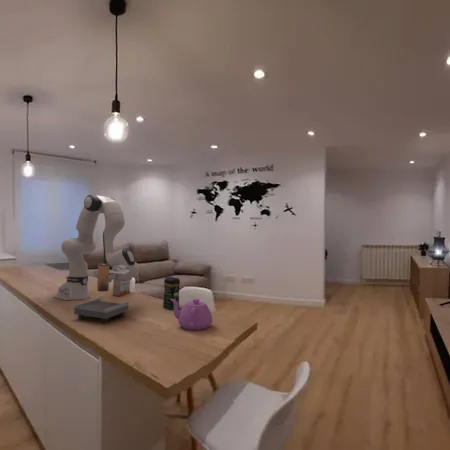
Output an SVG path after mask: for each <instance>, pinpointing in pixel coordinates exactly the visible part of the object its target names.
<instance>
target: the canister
mask: <svg viewBox="0 0 450 450" xmlns="http://www.w3.org/2000/svg"><path fill="white" fill-rule="evenodd" d="M97 267H98V268H97V270H98V277H97V284H96V285H97V286H96V287H97V292H108V291H109V285H110V279H107V275H109V264H108V263H103V262H102V263H101V262H100V263H97Z"/></svg>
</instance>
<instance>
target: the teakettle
mask: <svg viewBox="0 0 450 450" xmlns="http://www.w3.org/2000/svg"><path fill="white" fill-rule="evenodd" d="M171 300H172V301H173V304H174V309H173V315H174V317H175V319H177V321H178V322H177V323H178V324H179V325H180V327H181V328H183V329H185V330H190V331H191V330H192V331H200V330H205V329H208V328H209V327H210V326H211V325H212V323H213V315H212V312H211V310H210V308H209V306H208V305H207V303H206V302H204V301H200V299H199V298H192V300H191V301H187V302H186V303H184V305H183V306H182V308H181V309H179V308H178V304H177V301H176V300H174V299H171Z"/></svg>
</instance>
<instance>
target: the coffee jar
mask: <svg viewBox="0 0 450 450" xmlns="http://www.w3.org/2000/svg"><path fill="white" fill-rule="evenodd" d="M163 287H164V294H163V300H162V301H163V303H162V307H163V308H165V309H168V310H174V304H173V301H172V300H171V299H174V300H176V301H177V304H178V309H179V307H180V287H181V281H180V279H179V277H175V276H167V277H165V278H164V281H163Z"/></svg>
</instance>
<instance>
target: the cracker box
mask: <svg viewBox="0 0 450 450" xmlns="http://www.w3.org/2000/svg"><path fill="white" fill-rule="evenodd" d="M112 280H113V279H112ZM130 289H131V280H122V281H115V280H113V281H112V296H114V297H121V296H124V295H126V294H129V293H130Z"/></svg>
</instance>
